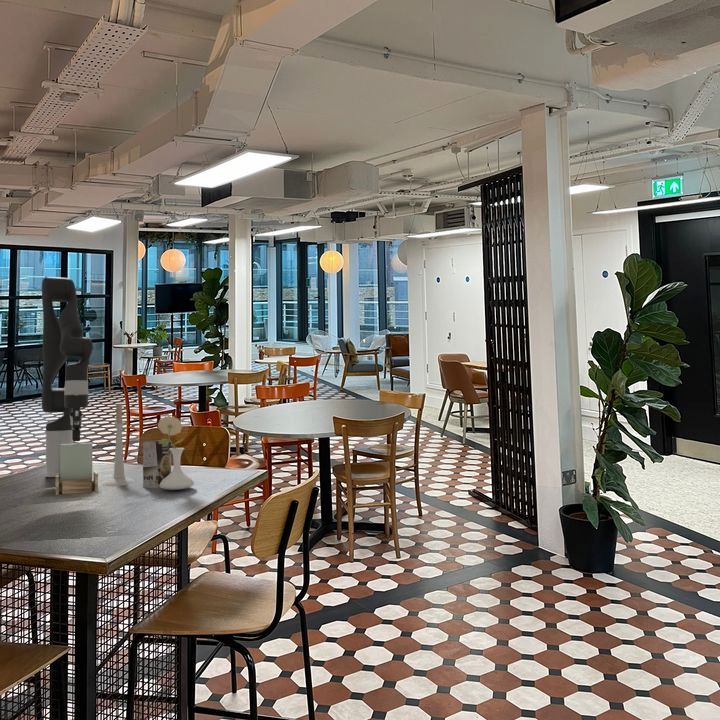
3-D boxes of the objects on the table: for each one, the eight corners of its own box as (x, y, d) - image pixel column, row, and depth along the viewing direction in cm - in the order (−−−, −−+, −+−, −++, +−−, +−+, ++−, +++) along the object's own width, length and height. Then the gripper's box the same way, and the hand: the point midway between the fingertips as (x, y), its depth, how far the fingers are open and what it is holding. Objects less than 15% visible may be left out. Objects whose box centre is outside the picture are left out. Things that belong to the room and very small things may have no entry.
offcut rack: (55, 490, 215) (55, 473, 215) (95, 487, 221) (95, 470, 221) (55, 494, 206) (55, 476, 206) (97, 491, 211) (97, 473, 212)
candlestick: (145, 484, 227) (144, 401, 229) (112, 489, 217) (112, 402, 219) (124, 482, 235) (124, 402, 236) (92, 486, 224) (92, 402, 226)
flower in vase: (200, 487, 216) (200, 414, 218) (182, 492, 205) (182, 415, 207) (167, 486, 220) (167, 415, 221) (148, 491, 209) (147, 416, 210)
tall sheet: (60, 491, 214) (60, 444, 215) (91, 488, 219) (91, 442, 220) (60, 492, 212) (60, 444, 213) (92, 489, 216) (92, 443, 217)
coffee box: (159, 488, 216) (159, 441, 217) (142, 488, 217) (142, 441, 218) (172, 484, 225) (172, 439, 226) (156, 484, 226) (155, 439, 227)
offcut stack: (62, 493, 211) (62, 479, 211) (91, 490, 215) (91, 477, 215) (62, 494, 207) (62, 480, 208) (91, 492, 211) (91, 478, 212)
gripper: (64, 394, 222) (63, 440, 221) (64, 393, 209) (64, 442, 208) (87, 394, 225) (86, 439, 224) (89, 393, 213) (89, 441, 211)
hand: (76, 440), depth 216 cm, fingers open, 8 cm apart
